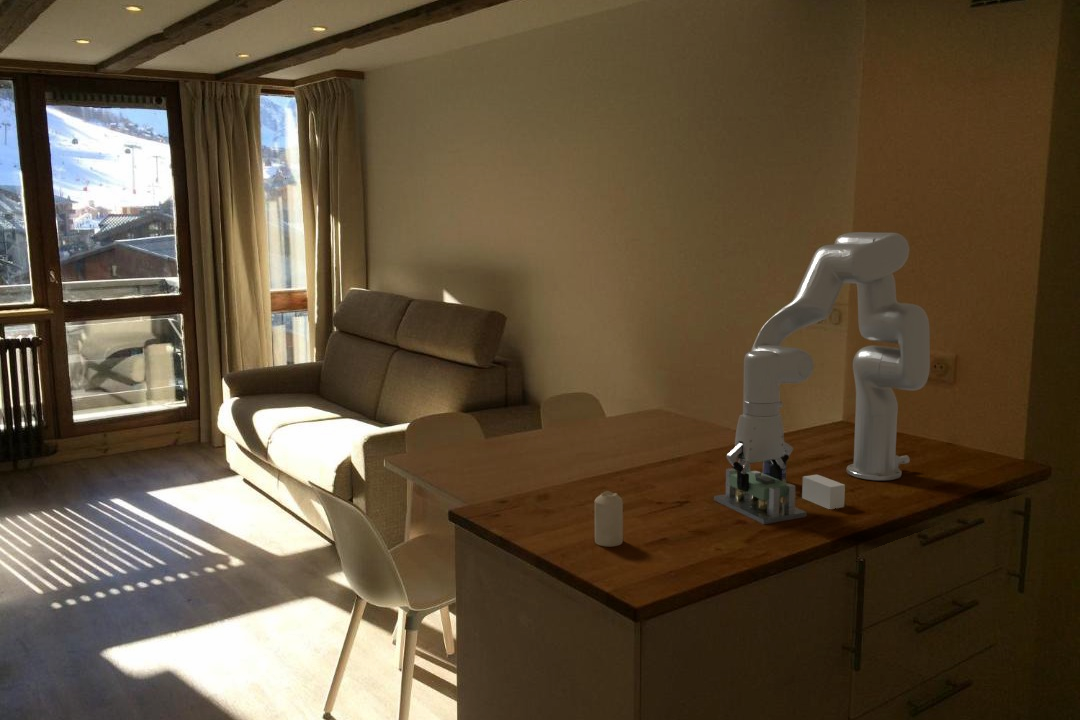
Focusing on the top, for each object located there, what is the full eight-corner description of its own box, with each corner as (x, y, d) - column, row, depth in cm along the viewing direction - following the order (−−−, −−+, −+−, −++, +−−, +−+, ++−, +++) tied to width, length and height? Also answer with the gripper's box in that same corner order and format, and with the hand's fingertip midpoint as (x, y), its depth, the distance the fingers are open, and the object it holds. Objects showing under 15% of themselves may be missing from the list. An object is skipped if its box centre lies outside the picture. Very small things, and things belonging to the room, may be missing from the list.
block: (816, 495, 204) (816, 474, 203) (844, 506, 196) (844, 484, 195) (802, 498, 203) (802, 476, 202) (829, 509, 194) (830, 487, 194)
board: (755, 481, 202) (756, 467, 202) (790, 495, 192) (790, 480, 191) (729, 485, 200) (730, 470, 199) (763, 500, 189) (763, 485, 188)
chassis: (754, 493, 207) (754, 464, 205) (806, 516, 190) (807, 484, 189) (713, 500, 202) (714, 470, 201) (763, 524, 186) (764, 491, 185)
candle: (592, 537, 180) (592, 489, 178) (620, 536, 180) (620, 488, 179) (596, 547, 174) (596, 498, 173) (624, 546, 175) (624, 496, 173)
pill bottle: (786, 486, 212) (787, 446, 210) (763, 485, 213) (764, 445, 211) (785, 479, 217) (786, 440, 215) (762, 479, 218) (763, 439, 216)
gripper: (782, 401, 200) (780, 478, 202) (716, 409, 193) (715, 488, 196) (805, 407, 193) (802, 486, 196) (737, 416, 186) (736, 497, 189)
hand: (759, 487), depth 196 cm, fingers open, 8 cm apart
